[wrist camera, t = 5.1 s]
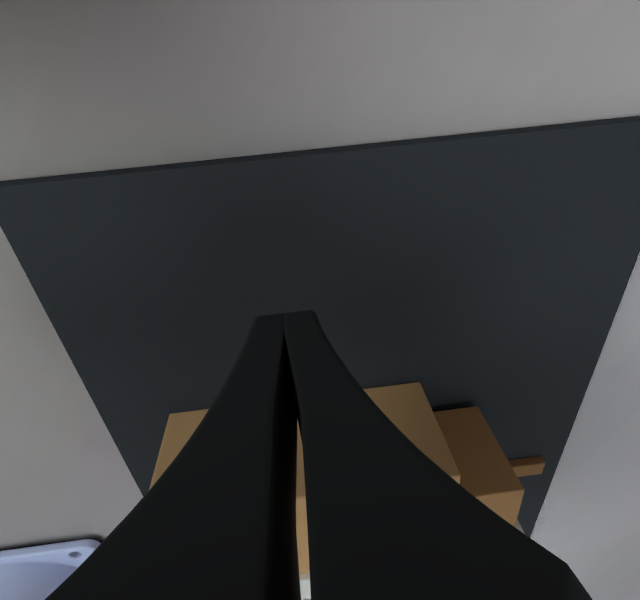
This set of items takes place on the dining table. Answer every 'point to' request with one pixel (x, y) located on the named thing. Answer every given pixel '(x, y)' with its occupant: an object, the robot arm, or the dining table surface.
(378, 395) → the cardboard stepped box
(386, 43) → the dining table surface
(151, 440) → the shoe mat
